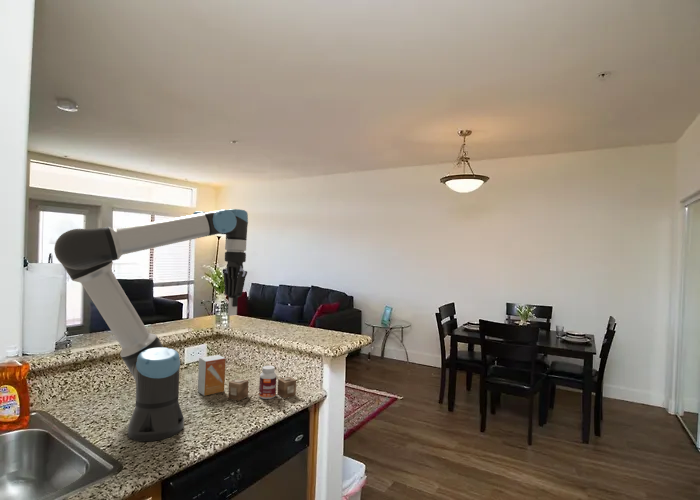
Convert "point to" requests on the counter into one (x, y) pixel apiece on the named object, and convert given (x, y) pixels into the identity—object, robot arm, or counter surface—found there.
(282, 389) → the marked block right
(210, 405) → the counter surface
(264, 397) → the pill bottle
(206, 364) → the small box
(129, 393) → the counter surface
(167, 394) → the robot arm
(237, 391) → the marked block left
